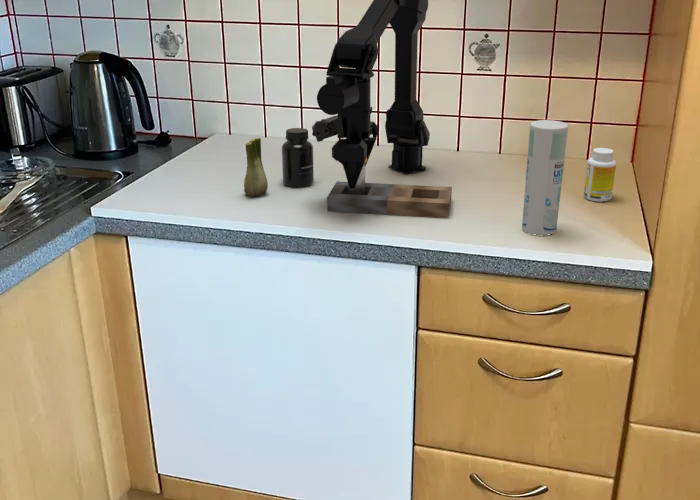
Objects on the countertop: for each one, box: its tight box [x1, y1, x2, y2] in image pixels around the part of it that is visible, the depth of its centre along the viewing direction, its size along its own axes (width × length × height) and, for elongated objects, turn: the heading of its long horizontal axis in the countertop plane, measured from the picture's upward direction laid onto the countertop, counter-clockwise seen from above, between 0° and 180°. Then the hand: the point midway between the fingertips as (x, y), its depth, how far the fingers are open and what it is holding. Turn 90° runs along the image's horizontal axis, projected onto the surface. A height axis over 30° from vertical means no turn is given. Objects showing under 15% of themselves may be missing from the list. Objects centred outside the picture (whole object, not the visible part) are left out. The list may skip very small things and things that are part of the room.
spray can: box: [521, 119, 569, 236], centre depth 137 cm, size 6×6×20 cm
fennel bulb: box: [243, 137, 268, 197], centre depth 158 cm, size 6×5×12 cm
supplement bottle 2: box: [583, 147, 617, 203], centre depth 154 cm, size 6×6×10 cm
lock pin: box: [348, 157, 368, 195], centre depth 152 cm, size 4×4×10 cm
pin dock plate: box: [326, 180, 453, 219], centre depth 153 cm, size 24×10×3 cm, turn 80°
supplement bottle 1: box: [281, 127, 315, 189], centre depth 165 cm, size 7×7×12 cm
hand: (356, 180), depth 152 cm, fingers open, 9 cm apart
